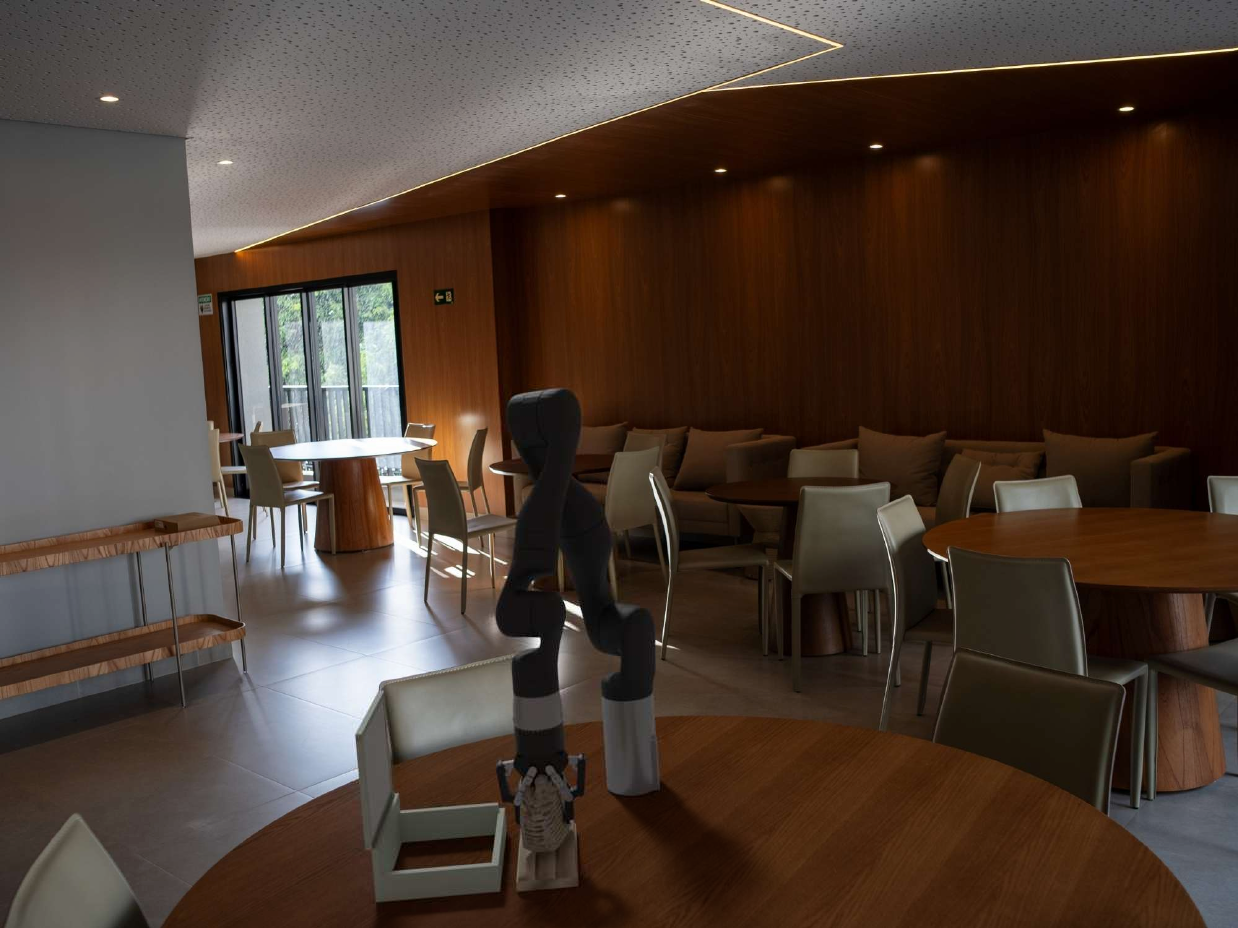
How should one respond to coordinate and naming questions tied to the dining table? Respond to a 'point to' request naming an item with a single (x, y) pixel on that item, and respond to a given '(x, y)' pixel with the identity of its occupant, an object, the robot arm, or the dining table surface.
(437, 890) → the cold frame
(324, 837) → the dining table surface
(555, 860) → the slatted stand
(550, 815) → the fossil tooth
